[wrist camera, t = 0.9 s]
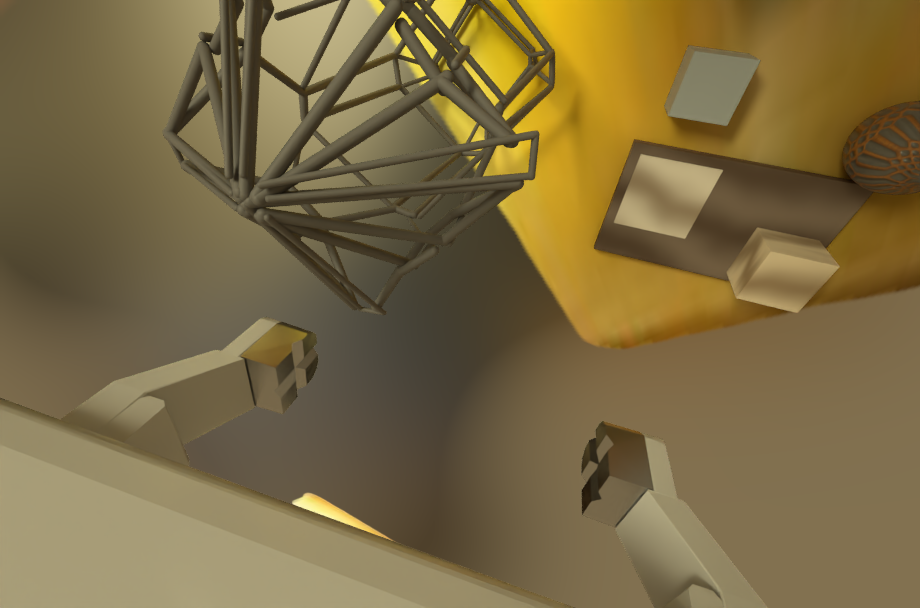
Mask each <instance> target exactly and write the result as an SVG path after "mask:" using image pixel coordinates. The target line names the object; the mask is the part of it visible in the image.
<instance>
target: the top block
mask: <svg viewBox="0 0 920 608" xmlns="http://www.w3.org/2000/svg"><path fill="white" fill-rule="evenodd" d="M760 61H761V60H759V59H757V58H756V57H754V56H752V55H750V54H749V53H741V52H734V51H727V50H720V49H712V48H705V47H698V46H690V45H688V48H687V50H686V53H685V55H684V58H683V60H682V63H681V65H680V68H679V70H678V73H677V75H676V78H675V80H674V83H673V85H672V88H671V90H670V93H669V95H668V98H667V100H666V103H665V105H664V107H665V109H666V112H667V115H668V116H671V117H677V118H683V119H689V120H694V121H700V122H706V123H712V124H718V125H724V126H727V125H728V123H729V121H730V119H731V117H732V115H733V113H734V111H735V109H736V107H737V105H738V103H739V101H740V100H741V98H742V96H743V94H744V92H745V90H746V88H747V86H748V84H749V82H750V80H751V78H752V76H753V74H754V72H755V70H756V68H757V66H758V65H759V63H760Z"/></svg>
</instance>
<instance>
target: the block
mask: <svg viewBox="0 0 920 608" xmlns="http://www.w3.org/2000/svg"><path fill="white" fill-rule="evenodd" d="M839 267H840V266H839V265H838V264H837V262H836V261H835V260H834V259H833V257H832V256H831V255H830V253H829V252H828V251H827V250H826V248H825V247H824V246H823V244H822V243H821V242H820V241H819V240H814V239H810V238H805V237H800V236H796V235H791V234H786V233H781V232H777V231H772V230H767V229H763V228H758V227H757V228H756V230H755V231H754V233H753V234H752V236H751V237H750V239H749V240H748V242H747V243H746V245H745V246H744V247H743V249H742V250H741V252H740V253H739V255H738V256H737V258H736V259H735V261H734V262H733V264H732V265H731V266H730V268H729V269H728V271H727V275H728V278H729V280H730V283H731V286H732V289H733V291H734V294H735V297H736V298H738V299H742V300H746V301H750V302H754V303H758V304H762V305H766V306H770V307H775V308H779V309H783V310H787V311H791V312H795V313H798V312H799V311H800V310H801V309H802V307H803V306H804V305H805V304H806V303H807V302H808V301H809V300H810V299H811V298H812V297H813V295H814V294H815V293H816V292H817V291H818V290H819V289H820V288H821V287H822V286H823V285H824V283H825V282H826V281H827V280H828V279H829V278H830V277H831V276H832V275H833V274H834V272H835V271H836V270H837V269H838V268H839Z"/></svg>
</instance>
